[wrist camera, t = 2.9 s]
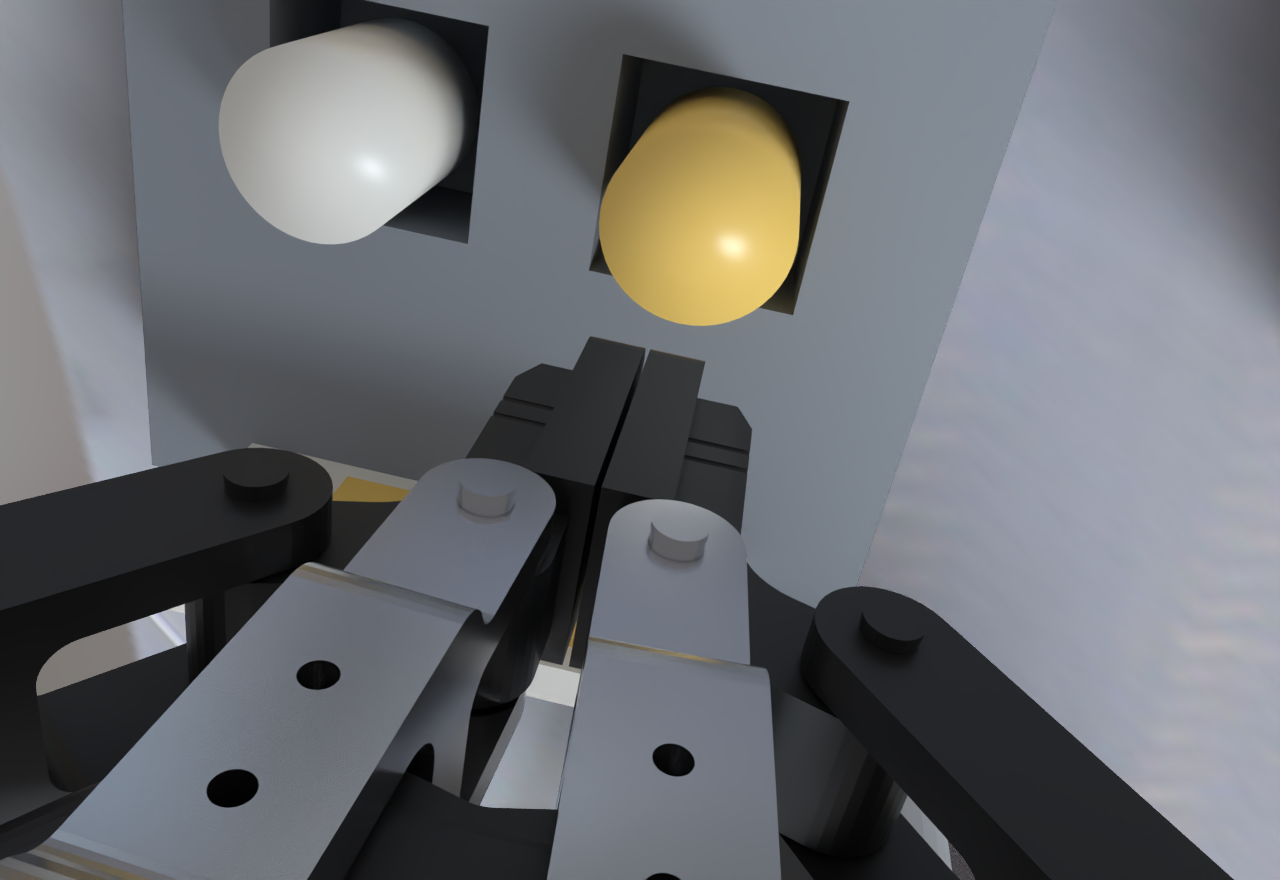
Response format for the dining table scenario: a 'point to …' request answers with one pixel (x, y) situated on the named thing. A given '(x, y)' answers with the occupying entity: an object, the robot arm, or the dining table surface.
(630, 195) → the amber button
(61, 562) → the robot arm
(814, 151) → the console
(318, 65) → the cream button
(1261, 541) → the dining table surface
